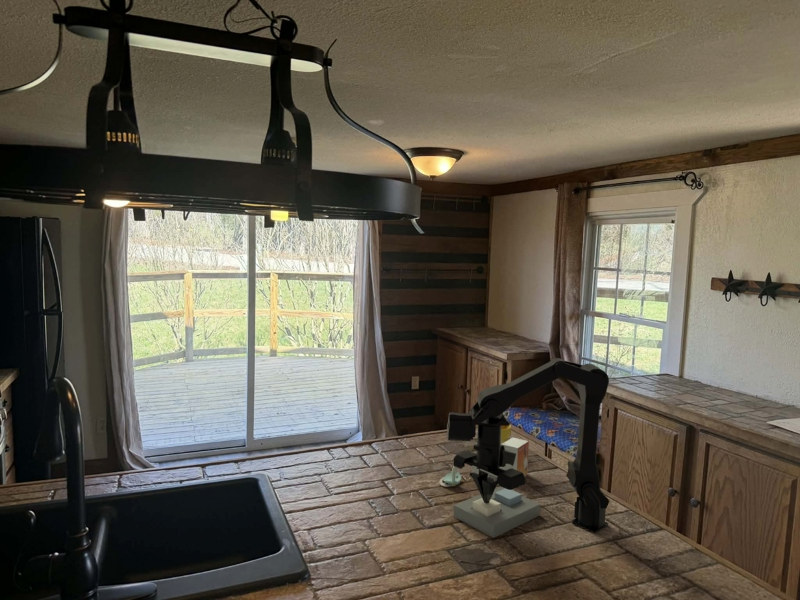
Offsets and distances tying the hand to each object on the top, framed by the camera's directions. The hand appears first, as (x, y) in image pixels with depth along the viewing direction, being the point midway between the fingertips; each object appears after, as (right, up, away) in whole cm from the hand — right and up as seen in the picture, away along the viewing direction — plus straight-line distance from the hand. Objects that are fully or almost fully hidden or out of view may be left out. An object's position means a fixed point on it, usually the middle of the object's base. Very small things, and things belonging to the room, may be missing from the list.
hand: (486, 502), depth 136 cm
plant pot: (+10, -1, +46) cm, 47 cm away
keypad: (+3, -5, +3) cm, 6 cm away
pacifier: (-7, -3, +22) cm, 23 cm away
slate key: (+6, -2, +6) cm, 9 cm away
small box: (+12, -3, +28) cm, 31 cm away
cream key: (0, -3, 0) cm, 3 cm away
